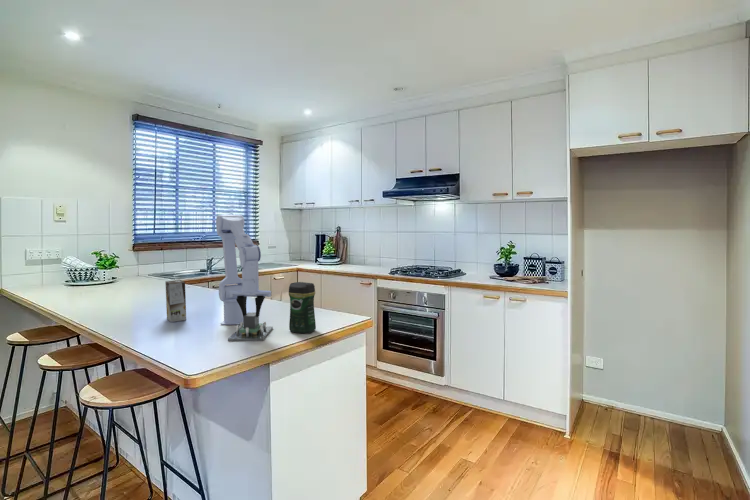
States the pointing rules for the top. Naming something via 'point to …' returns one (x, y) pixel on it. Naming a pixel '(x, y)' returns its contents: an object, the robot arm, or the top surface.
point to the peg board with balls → (250, 336)
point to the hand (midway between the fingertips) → (251, 316)
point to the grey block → (250, 323)
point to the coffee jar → (302, 307)
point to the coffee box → (175, 300)
